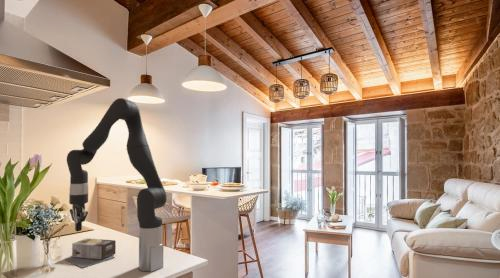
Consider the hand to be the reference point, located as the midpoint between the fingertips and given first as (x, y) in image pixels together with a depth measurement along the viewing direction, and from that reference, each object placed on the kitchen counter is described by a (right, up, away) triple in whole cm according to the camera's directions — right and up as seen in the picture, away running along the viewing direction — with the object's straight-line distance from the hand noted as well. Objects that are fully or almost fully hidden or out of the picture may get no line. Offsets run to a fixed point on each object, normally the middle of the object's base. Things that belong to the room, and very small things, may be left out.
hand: (78, 230), depth 136 cm
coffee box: (-1, -8, +2) cm, 9 cm away
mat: (+7, -12, -3) cm, 14 cm away
